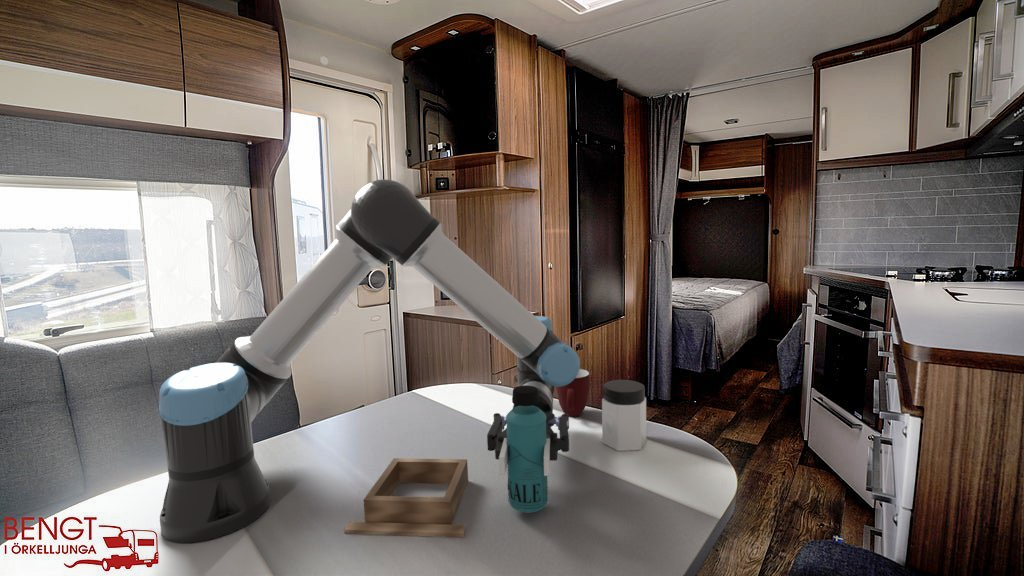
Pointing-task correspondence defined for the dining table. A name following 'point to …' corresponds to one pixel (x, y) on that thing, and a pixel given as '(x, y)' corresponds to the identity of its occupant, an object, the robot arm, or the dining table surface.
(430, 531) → the square wooden frame
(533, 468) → the beverage bottle
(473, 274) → the robot arm
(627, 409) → the jar
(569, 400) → the mug
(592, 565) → the dining table surface
